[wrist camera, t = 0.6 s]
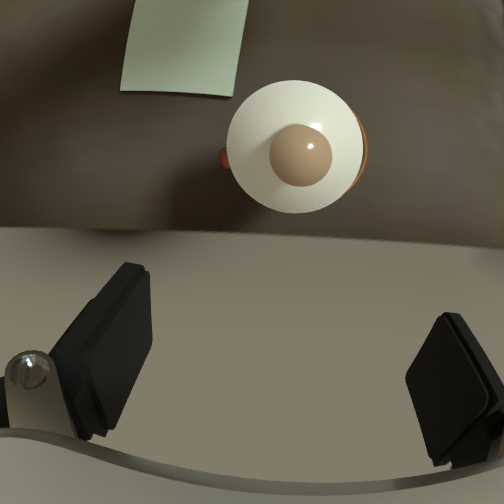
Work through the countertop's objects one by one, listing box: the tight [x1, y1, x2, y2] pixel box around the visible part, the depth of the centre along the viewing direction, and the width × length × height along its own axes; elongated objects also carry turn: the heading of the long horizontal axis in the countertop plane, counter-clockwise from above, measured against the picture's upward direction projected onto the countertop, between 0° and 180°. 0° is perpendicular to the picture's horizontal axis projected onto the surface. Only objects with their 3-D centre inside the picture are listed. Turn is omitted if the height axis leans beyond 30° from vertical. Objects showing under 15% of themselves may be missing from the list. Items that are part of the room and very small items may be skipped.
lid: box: [227, 80, 363, 213], centre depth 20 cm, size 10×10×6 cm
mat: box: [120, 0, 249, 97], centre depth 28 cm, size 13×13×1 cm
